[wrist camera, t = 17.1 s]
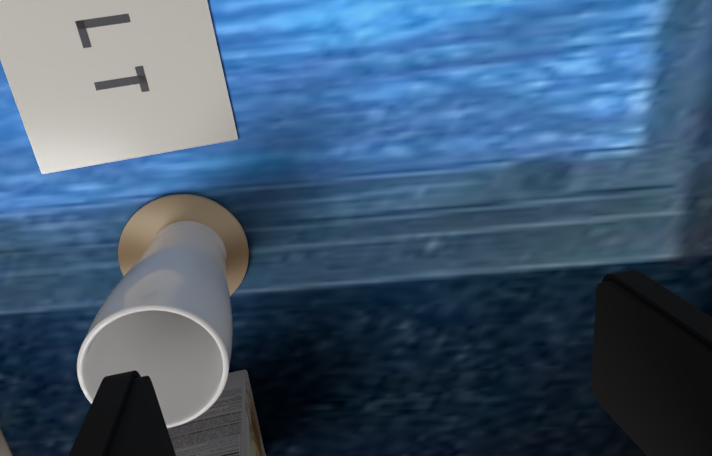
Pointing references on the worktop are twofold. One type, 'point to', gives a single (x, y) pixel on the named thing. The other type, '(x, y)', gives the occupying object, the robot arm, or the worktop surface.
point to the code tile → (114, 78)
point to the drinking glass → (167, 323)
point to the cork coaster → (185, 209)
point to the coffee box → (223, 425)
